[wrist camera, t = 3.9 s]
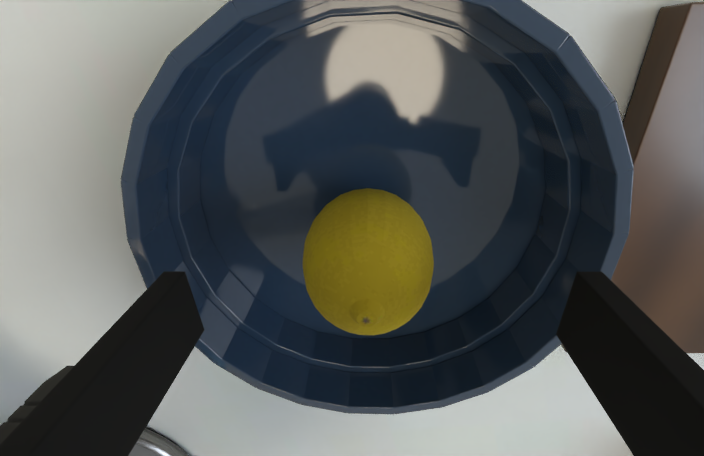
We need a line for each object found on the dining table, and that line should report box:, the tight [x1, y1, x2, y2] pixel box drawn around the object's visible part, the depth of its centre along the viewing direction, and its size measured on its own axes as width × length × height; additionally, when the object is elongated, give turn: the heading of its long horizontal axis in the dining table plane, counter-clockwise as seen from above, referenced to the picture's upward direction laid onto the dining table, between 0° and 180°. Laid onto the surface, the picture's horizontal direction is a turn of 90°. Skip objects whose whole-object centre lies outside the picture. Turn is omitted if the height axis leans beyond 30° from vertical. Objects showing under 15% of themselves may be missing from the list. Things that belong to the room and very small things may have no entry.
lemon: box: [303, 188, 434, 335], centre depth 15 cm, size 6×6×8 cm
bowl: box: [121, 0, 634, 414], centre depth 16 cm, size 20×20×5 cm
